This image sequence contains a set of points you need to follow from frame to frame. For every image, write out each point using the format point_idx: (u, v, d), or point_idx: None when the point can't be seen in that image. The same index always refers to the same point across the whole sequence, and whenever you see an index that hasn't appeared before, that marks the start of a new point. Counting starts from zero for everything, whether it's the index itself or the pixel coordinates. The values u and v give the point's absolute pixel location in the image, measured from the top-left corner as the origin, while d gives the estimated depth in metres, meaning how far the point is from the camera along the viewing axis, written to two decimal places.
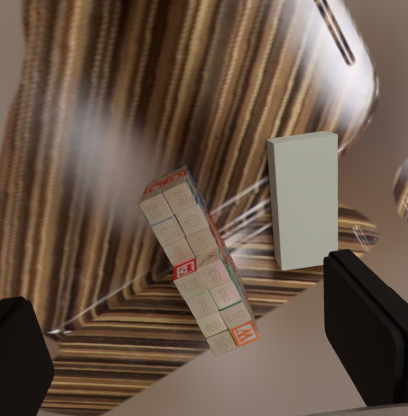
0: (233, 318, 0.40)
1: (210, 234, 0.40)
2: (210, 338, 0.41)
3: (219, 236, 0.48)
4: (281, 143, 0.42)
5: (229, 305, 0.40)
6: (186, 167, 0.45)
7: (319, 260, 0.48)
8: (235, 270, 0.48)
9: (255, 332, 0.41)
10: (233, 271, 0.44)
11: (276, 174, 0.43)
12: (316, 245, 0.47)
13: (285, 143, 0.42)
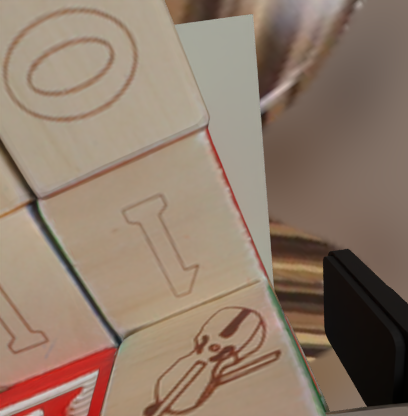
0: None
1: (218, 188, 0.05)
2: None
3: None
4: None
5: None
6: None
7: None
8: None
9: None
10: None
11: None
12: None
13: None
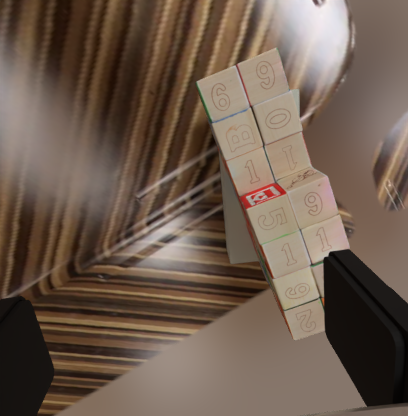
0: None
1: (303, 144, 0.25)
2: (291, 311, 0.26)
3: None
4: None
5: None
6: None
7: None
8: None
9: None
10: None
11: None
12: None
13: None
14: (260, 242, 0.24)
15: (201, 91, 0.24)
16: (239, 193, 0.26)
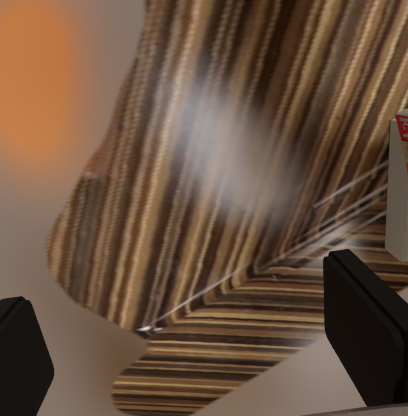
0: None
1: None
2: None
3: None
4: None
5: None
6: None
7: None
8: None
9: None
10: None
11: None
12: None
13: None
14: None
15: None
16: None
